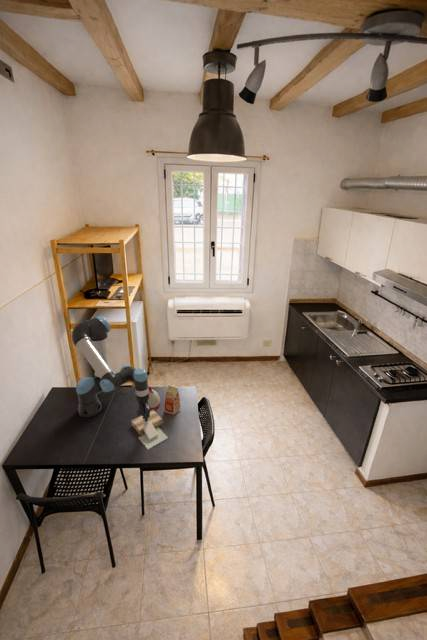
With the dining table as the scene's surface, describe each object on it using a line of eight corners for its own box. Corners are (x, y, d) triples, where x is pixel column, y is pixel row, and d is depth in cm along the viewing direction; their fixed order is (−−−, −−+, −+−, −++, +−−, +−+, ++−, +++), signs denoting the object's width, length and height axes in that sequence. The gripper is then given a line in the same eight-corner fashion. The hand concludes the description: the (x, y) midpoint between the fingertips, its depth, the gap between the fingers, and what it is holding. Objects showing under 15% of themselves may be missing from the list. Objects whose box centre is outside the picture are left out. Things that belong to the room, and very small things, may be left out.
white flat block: (142, 427, 192) (142, 426, 191) (150, 423, 196) (151, 422, 194) (149, 440, 188) (149, 439, 187) (157, 435, 192) (158, 434, 190)
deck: (131, 425, 201) (131, 420, 199) (153, 414, 210) (153, 409, 208) (140, 435, 192) (140, 430, 191) (163, 424, 202) (162, 419, 200)
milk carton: (163, 411, 213) (161, 387, 204) (170, 403, 220) (168, 379, 212) (175, 415, 209) (174, 390, 201) (182, 406, 217) (180, 382, 209)
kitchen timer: (151, 395, 229) (149, 378, 223) (164, 402, 222) (163, 384, 215) (136, 405, 219) (134, 387, 213) (150, 413, 211) (148, 395, 205)
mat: (138, 438, 191) (138, 437, 191) (158, 427, 199) (158, 426, 199) (147, 449, 182) (147, 449, 182) (168, 438, 191) (168, 437, 190)
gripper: (131, 390, 187) (135, 421, 196) (141, 401, 178) (145, 433, 187) (142, 385, 191) (146, 416, 201) (153, 396, 182) (156, 427, 192)
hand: (146, 424), depth 194 cm, fingers closed
